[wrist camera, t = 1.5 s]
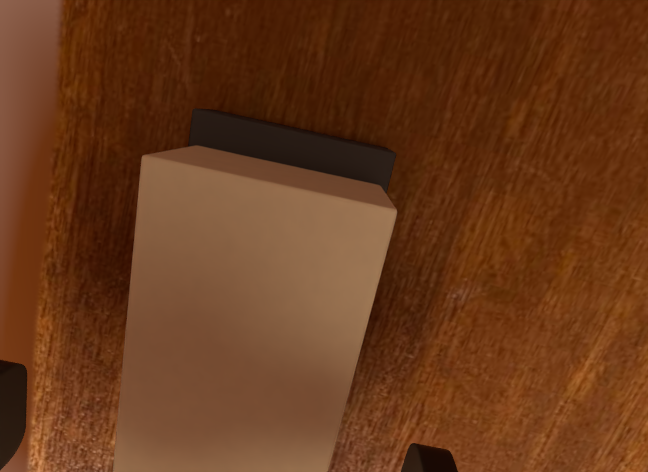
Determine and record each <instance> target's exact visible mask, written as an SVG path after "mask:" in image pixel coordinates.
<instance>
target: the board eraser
mask: <svg viewBox="0 0 648 472" xmlns="http://www.w3.org/2000/svg"><path fill="white" fill-rule="evenodd" d="M395 158H396V153H395V152H393V151H391V150H389V149H388V148H384V147H380V146H375V145H371V144H366V143H362V142H357V141H353V140H348V139H344V138H339V137H335V136H330V135H325V134H321V133H316V132H312V131H307V130H303V129H298V128H294V127H289V126H285V125H280V124H276V123H271V122H267V121H262V120H258V119H253V118H248V117H244V116H239V115H235V114H230V113H226V112H221V111H217V110H209V109H196V108H195V109H193V112H192V120H191V128H190V136H189V145H188V147H185V148H179V149H174V150H169V151H163V152H158V153H153V154H147V155H143V156H142V160H141V171H140V182H139V193H138V203H137V214H136V225H135V236H134V247H133V258H132V268H131V279H130V290H129V301H128V312H127V323H126V333H125V344H124V355H123V366H122V377H121V388H120V398H119V409H118V420H117V431H116V442H115V453H114V464H113V472H328V470H329V466H330V462H331V458H332V455H333V451H334V447H335V443H336V440H337V436H338V432H339V429H340V425H341V421H342V417H343V414H344V410H345V406H346V402H347V399H348V395H349V391H350V388H351V384H352V380H353V376H354V373H355V369H356V365H357V361H358V358H359V354H360V350H361V346H362V343H363V339H364V335H365V332H366V328H367V324H368V320H369V317H370V313H371V309H372V305H373V302H374V298H375V294H376V290H377V287H378V283H379V279H380V276H381V272H382V268H383V264H384V261H385V257H386V253H387V249H388V246H389V242H390V238H391V234H392V231H393V227H394V223H395V220H396V216H397V210H396V208H395V207H394V205H393V204H392V202H391V201H390V199H389V198H388V196H387V195H386V193H387V189H388V185H389V181H390V177H391V173H392V169H393V165H394V162H395Z"/></svg>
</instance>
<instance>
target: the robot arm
mask: <svg viewBox="0 0 648 472" xmlns="http://www.w3.org/2000/svg"><path fill="white" fill-rule="evenodd" d="M26 400H27V370H26V368H25V366H24V365H22V364H19V363H13V362H8V361H3V360H0V470H1V469H2V468H3V467H4V466H5V465H6V464H7V463H8V462H9V460H10V459H11V458H12V457H13V455H14V454H15V452H16V451H17V449H18V447H19V445H20V443H21V441H22V439H23V436H24V433H25V428H26ZM401 472H458V471H457V468H456V465H455V462H454V459H453V457H452V454H451V453H450V451H449V450H446V449H441V448H436V447H431V446H426V445H421V444H416V443H412V444H411V445H410V446H409V448H408V451H407V454H406V457H405V460H404V463H403V466H402V470H401Z"/></svg>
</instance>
